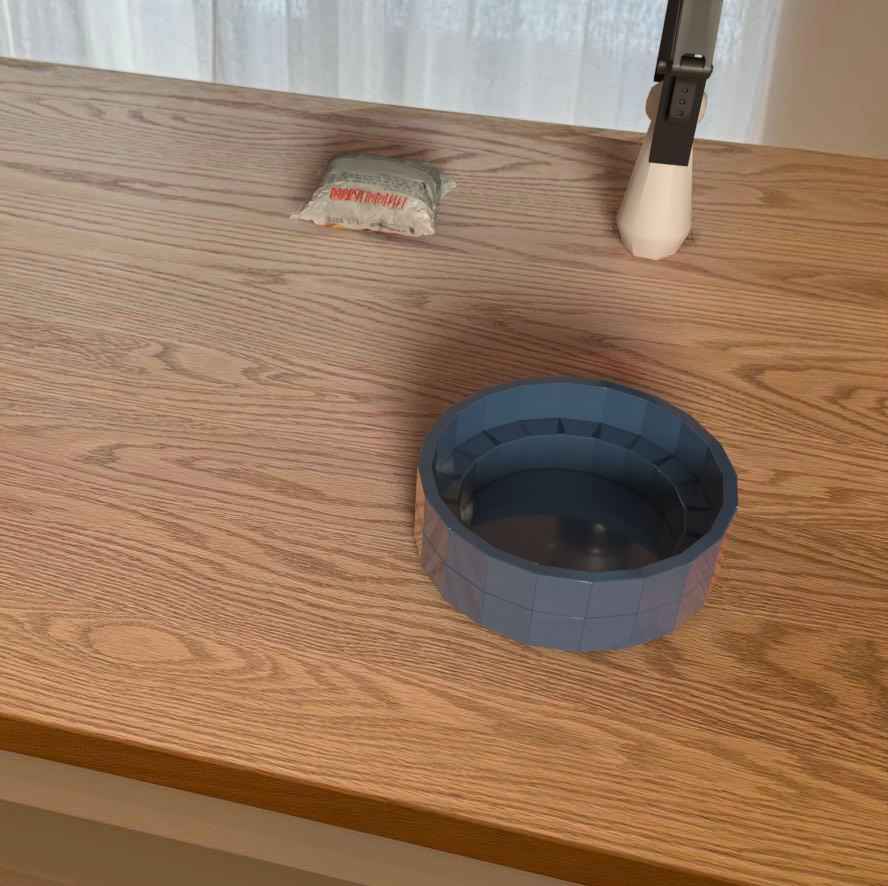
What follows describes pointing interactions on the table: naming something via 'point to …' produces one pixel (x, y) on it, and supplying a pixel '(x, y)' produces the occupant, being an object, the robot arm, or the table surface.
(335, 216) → the packaged food
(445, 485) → the bowl
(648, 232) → the cream pestle
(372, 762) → the table surface
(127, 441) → the table surface
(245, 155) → the table surface
